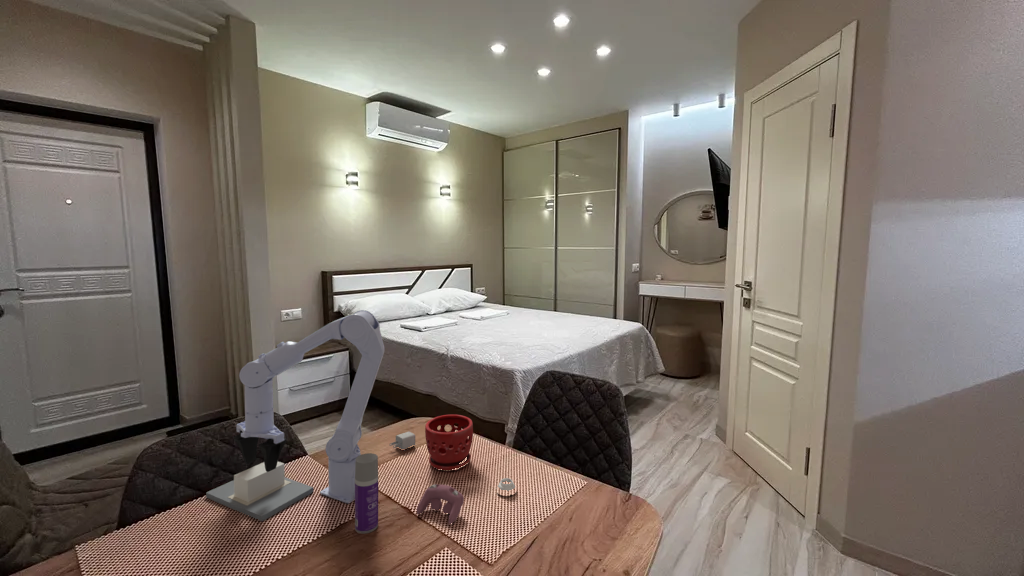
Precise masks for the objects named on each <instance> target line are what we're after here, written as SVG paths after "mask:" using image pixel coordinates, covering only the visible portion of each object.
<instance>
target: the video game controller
mask: <svg viewBox="0 0 1024 576" xmlns="http://www.w3.org/2000/svg"><path fill="white" fill-rule="evenodd" d="M442 500H443V501H445V502H446V503H444V504H443V502H442ZM464 501H465V498H464V495H463V494H462V492H459V491H458V490H457V489H456V488H454V487H453V486H450V485H448V484H440V483H439V484H432V485H429V487H428V488H427V489H425V491H424V493H423V494H422V496H421V498H420V501H419V502H418V505H417V508H416V514H417V515H418V514H420V513H422V512H423V511H424V510H425V511H426V509H428V506H429V505H430V508H431V510H432V509H435V510H439V509H440V510H441V509H442V513H443V512H444V513H448V514H450V515H448V525H450V524H451V523H453V522H454V521H455V520H456V521H457V519H458V518H457V517H459V515H460V512H461V510H462V506H463V505H464ZM440 510H439V511H440ZM425 511H424V512H425ZM424 512H423V513H424ZM423 513H422V514H423ZM444 513H443V514H444ZM420 515H421V514H420ZM456 521H455V522H456ZM455 522H454V523H455ZM454 523H453V524H454Z"/></svg>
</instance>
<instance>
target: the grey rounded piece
mask: <svg viewBox="0 0 1024 576" xmlns="http://www.w3.org/2000/svg"><path fill="white" fill-rule="evenodd" d="M505 481H507V482H511V483H510V484H503V483H502V482H505ZM498 484H499V485H498ZM498 484H497V486H498V487H499V488H500V489H501V490H507V491H509V490H512V489H514V488H515V487H516V485H515V483H514V481H513V479H511V478H508V477H504V478H501V479H500V481H499V482H498Z"/></svg>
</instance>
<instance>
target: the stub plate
mask: <svg viewBox="0 0 1024 576" xmlns="http://www.w3.org/2000/svg"><path fill="white" fill-rule="evenodd" d="M312 492H313V493H314V487H313V486H310V485H309V484H306V483H302V482H300V481H298V480H294V479H291V478H288V477H286V476H285V484H283V485H281V486H279V487H277V488H275V489H273V490H271V491H269V492H267V493H265V494H263V495H261V496H259V497H257V498H255V499H253V500H251V501H249V502H247V501H244V500H242V499H239V498H237V497H235V496H234V479H233V480H231V481H229V482H227V483H224V484H222V485H220V486H217V487H216V488H213V489H211V490H209V491H207V492H205V494H206V495H205V496H206V498H207V499H208V500H211V501H214V502H215V503H217V504H220V505H222V506H225V507H227V508H230V509H232V510H234V511H236V510H237V511H236V512H238V511H239V512H238V513H241V512H242V513H241V514H243V513H244V514H243V515H245V514H246V516H247V515H249V516H248V517H250V516H251V517H250V518H252V517H253V518H252V519H254V518H255V519H254V520H256V519H258V520H257V521H259V520H260V521H259V522H261V521H262V522H263V521H265V520H267V519H269V518H270V517H272V516H274V515H276V514H277V513H280V512H282V511H283V510H284V509H286V508H289V507H290V506H291V505H293V504H295V503H297V502H298V501H301V500H303V498H306V497H307V496H309V495H311V494H312Z"/></svg>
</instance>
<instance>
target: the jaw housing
mask: <svg viewBox="0 0 1024 576" xmlns="http://www.w3.org/2000/svg"><path fill="white" fill-rule="evenodd" d="M285 467H286V466H285V463H284V462H281V461H278V462H277V466H276V469H273V470H271V471H269V472H267V471H266V470H265V464H264V461H263V462H261V463H259V464H256V465H254V466H252V467H250V468H248V469H245V470H243V471H240V472H238V473H236V474H233V480H234V496H235V497H237V498H239V499H242V500H244V501H247V502H249V501H251V500H253V499H255V498H257V497H259V496H261V495H263V494H265V493H267V492H269V491H271V490H273V489H275V488H277V487H279V486H281V485H283V484H285V477H286V476H285V471H286V470H285Z"/></svg>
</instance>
